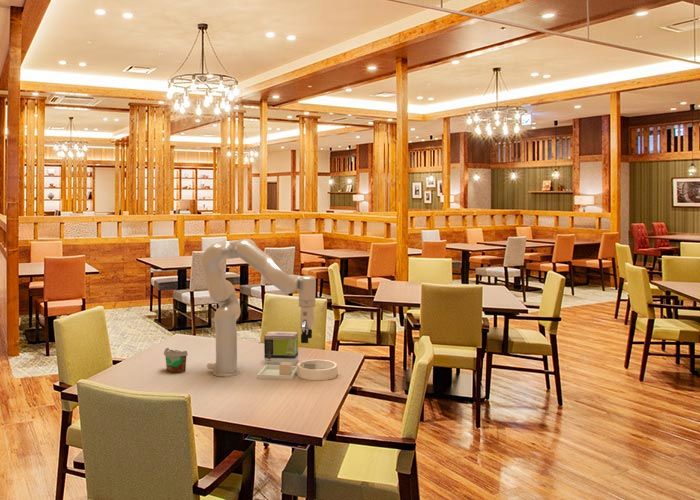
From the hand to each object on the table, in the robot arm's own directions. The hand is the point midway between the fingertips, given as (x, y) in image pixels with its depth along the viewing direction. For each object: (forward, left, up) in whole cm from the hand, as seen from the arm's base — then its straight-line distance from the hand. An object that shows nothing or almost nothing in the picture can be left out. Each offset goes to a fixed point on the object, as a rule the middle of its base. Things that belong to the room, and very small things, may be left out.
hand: (306, 340), depth 277 cm
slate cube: (+2, 0, -15) cm, 15 cm away
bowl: (+5, 0, -16) cm, 17 cm away
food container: (-62, -4, -16) cm, 64 cm away
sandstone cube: (-9, -2, -16) cm, 18 cm away
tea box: (-16, +18, -16) cm, 29 cm away
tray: (-13, -2, -16) cm, 20 cm away
